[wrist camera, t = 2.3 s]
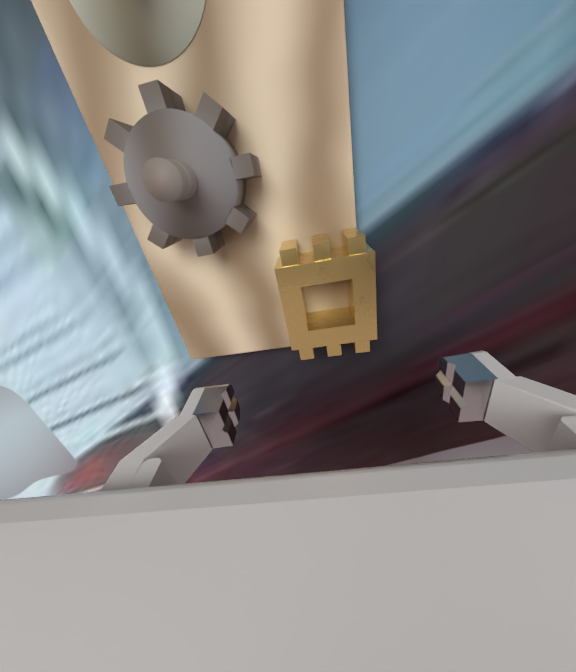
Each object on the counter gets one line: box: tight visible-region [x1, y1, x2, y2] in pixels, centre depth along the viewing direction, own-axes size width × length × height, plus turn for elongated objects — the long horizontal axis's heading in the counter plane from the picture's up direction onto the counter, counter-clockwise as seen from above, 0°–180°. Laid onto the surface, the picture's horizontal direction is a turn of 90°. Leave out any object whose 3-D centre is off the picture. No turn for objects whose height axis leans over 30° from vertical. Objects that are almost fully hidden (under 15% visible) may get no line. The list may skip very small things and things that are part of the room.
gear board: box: [31, 0, 356, 359], centre depth 15 cm, size 15×27×6 cm, turn 11°
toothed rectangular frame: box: [274, 228, 377, 360], centre depth 18 cm, size 6×8×3 cm
